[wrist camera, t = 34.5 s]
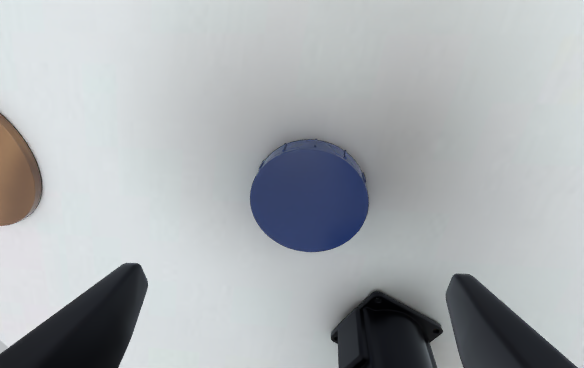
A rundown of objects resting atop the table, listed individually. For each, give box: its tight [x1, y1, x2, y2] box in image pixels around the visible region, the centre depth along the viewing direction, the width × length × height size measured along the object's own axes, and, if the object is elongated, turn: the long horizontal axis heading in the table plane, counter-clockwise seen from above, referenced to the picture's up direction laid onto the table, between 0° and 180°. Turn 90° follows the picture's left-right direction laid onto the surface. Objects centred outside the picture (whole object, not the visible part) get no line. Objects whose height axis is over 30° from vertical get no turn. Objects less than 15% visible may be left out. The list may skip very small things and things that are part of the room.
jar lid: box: [250, 139, 369, 252], centre depth 19 cm, size 7×7×2 cm
